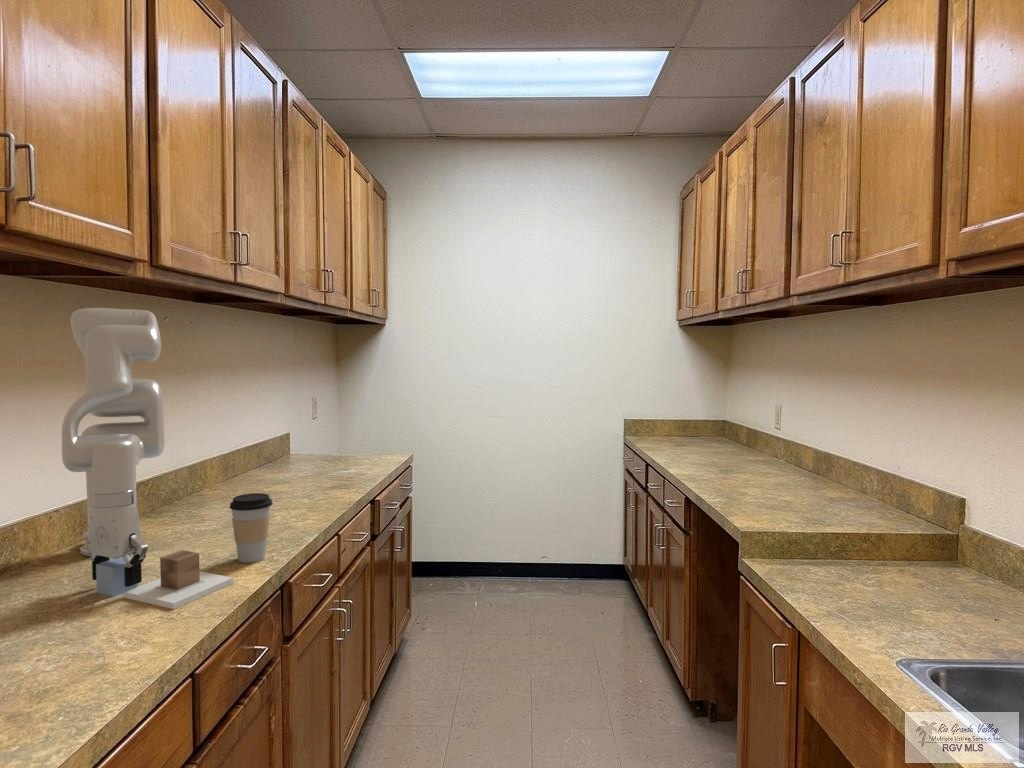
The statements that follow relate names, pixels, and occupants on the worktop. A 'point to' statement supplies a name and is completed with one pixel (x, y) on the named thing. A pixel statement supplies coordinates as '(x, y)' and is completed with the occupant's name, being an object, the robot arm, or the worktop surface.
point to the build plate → (177, 591)
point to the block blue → (111, 577)
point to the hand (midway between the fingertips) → (117, 581)
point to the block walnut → (179, 569)
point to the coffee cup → (251, 525)
